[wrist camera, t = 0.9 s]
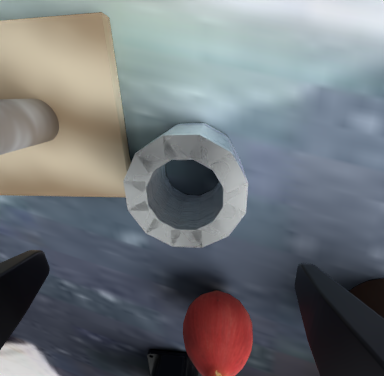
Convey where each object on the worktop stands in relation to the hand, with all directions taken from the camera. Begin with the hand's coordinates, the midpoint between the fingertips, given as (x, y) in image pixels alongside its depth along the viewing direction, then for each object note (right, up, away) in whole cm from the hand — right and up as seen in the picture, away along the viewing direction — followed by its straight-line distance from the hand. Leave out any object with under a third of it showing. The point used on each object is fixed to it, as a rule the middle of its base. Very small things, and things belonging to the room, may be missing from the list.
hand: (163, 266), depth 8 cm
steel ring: (+1, +4, +9) cm, 10 cm away
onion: (+4, -8, +14) cm, 17 cm away
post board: (-10, +8, +9) cm, 16 cm away
